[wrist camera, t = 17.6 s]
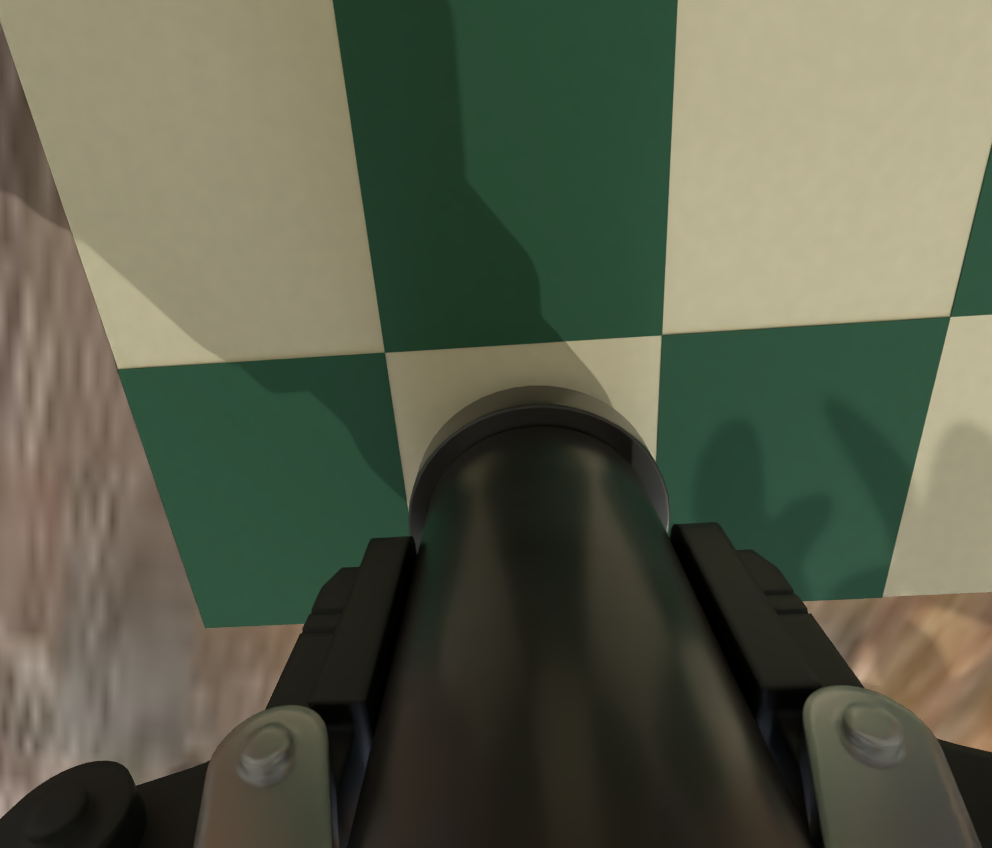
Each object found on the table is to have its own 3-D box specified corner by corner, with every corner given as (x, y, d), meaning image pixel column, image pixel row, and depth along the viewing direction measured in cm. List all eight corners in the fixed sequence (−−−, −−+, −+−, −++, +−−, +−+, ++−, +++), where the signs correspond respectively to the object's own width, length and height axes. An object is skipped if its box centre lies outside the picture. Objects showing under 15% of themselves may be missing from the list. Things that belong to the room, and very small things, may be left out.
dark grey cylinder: (430, 598, 14) (265, 1500, 4) (401, 391, 12) (-36, 1254, 2) (651, 589, 14) (990, 1514, 4) (662, 376, 12) (1393, 1250, 2)
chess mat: (207, 624, 15) (205, 628, 15) (-260, -762, 7) (-276, -783, 7) (1116, 583, 15) (1122, 587, 14) (1837, -1067, 6) (1871, -1099, 6)
